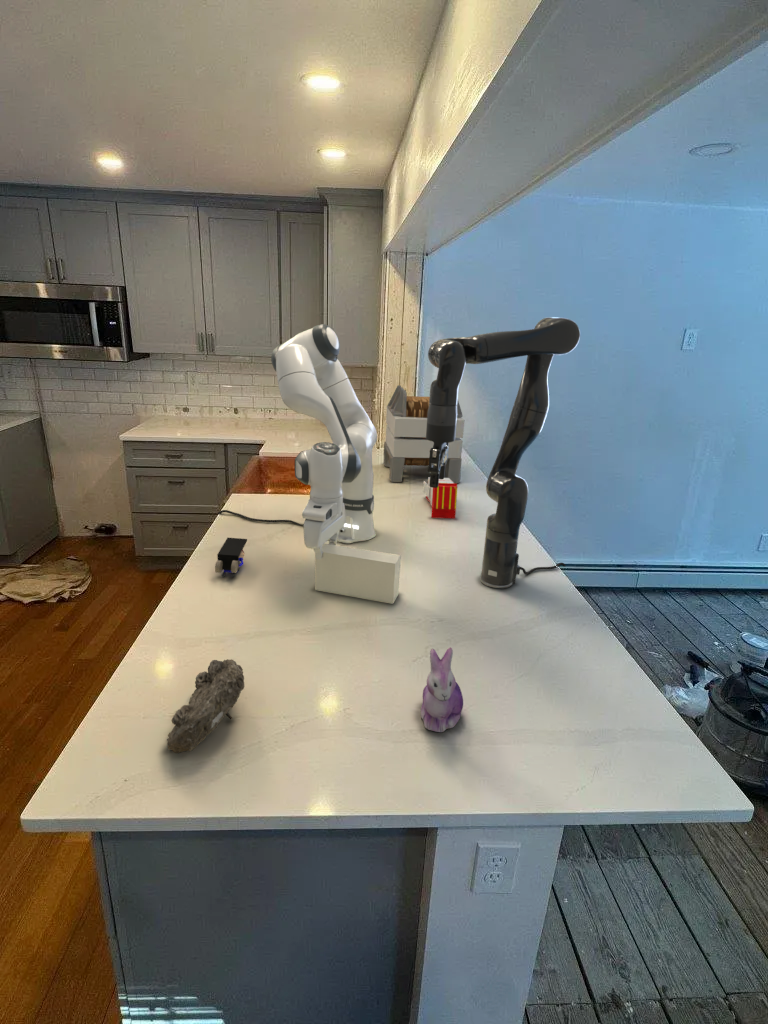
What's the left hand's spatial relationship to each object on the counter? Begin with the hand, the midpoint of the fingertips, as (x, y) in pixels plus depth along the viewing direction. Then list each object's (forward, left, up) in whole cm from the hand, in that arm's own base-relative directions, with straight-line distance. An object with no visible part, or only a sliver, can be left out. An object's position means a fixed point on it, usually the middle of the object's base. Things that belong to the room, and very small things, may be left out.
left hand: (326, 551), depth 156 cm
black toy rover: (-30, +1, -11) cm, 32 cm away
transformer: (-1, +126, -11) cm, 127 cm away
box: (+9, 0, -11) cm, 14 cm away
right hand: (+28, +8, +21) cm, 36 cm away
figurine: (+41, -43, -11) cm, 60 cm away
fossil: (-1, -57, -11) cm, 58 cm away
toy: (+17, +81, -11) cm, 83 cm away
